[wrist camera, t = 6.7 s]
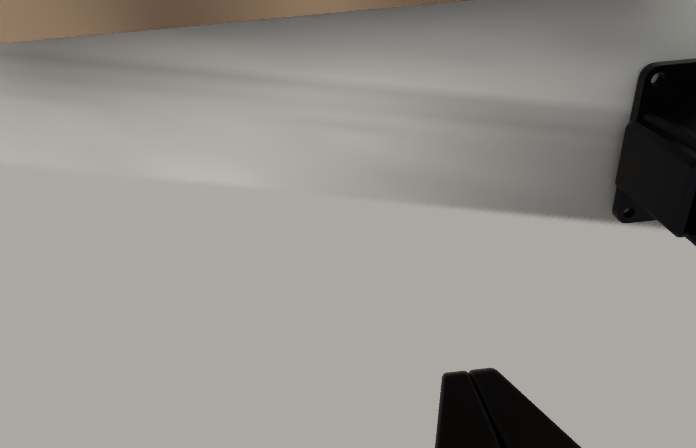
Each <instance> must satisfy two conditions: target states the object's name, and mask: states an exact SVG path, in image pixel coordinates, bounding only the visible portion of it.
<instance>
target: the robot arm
mask: <svg viewBox="0 0 696 448" xmlns="http://www.w3.org/2000/svg"><path fill="white" fill-rule="evenodd" d="M656 73H659V77H658V79H657V80H656V81H655V82H653V83H651V79H652V77H653V76H654V75H655V74H656ZM616 185H617V189H616V194H615V199H614V204H613V209H612V210H613V215H614V216H615V217H616V218H617V219H618V220H619V221H620V222H622V223H633V222H643V221H653V220H658V221H659V222H660V223H661V224H662V225H663V226H665V227H666V228H667V229H668V230H669V231H670V232H672V233H673V234H674V235H675V236H677V237H686V238H687V239H688V240H690V241H691V242H692V243H693V244H694V245H695V246H696V59H688V60H677V61H667V62H657V63H652V64H649V65H648V66H646V67H645V68H644V69H643V70H642V71H641V73H640V75H639V78H638V83H637V88H636V93H635V98H634V103H633V108H632V113H631V118H630V122H629V124H628V125H627V126H626V130H625V135H624V141H623V146H622V151H621V156H620V161H619V166H618V171H617V176H616ZM629 207H630V209H629V211H627V212H626V213H623V212H624V210H626V209H627V208H629ZM438 414H439V415H438V424H437V433H436V443H435V448H581V447H580V446H579V445H578V444H577V443H575V442H574V441H573V440H572V439H571V438H570V437H569V436H568V435H567V434H566V433H564V432H563V431H562V430H561V429H560V428H559V427H558V426H557V425H556V424H555V423H554V422H553V421H551V420H550V419H549V418H548V417H547V416H546V415H545V414H544V413H543V412H542V411H541V410H540V409H538V408H537V407H536V406H535V405H534V404H533V403H532V402H531V401H530V400H529V399H527V397H525V396H524V395H523V394H522V393H521V392H520V391H519V390H518V389H517V388H515V387H514V386H513V385H512V384H511V383H510V382H509V381H508V380H507V379H506V378H505V377H504V376H503V375H501V374H500V373H499V372H498V371H497V370H495V369H493V368H486V369H476V370H471V371H470V372H469V374H468V373H467V372H466V371H458V372H449V373H445V374H443V376H442V384H441V393H440V403H439V413H438Z"/></svg>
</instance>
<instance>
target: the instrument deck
mask: <svg viewBox="0 0 696 448" xmlns="http://www.w3.org/2000/svg"><path fill="white" fill-rule="evenodd" d="M456 1H467V0H0V44H1V43H12V42H23V41H34V40H45V39H55V38H66V37H77V36H88V35H99V34H110V33H120V32H131V31H142V30H153V29H164V28H174V27H185V26H196V25H207V24H218V23H229V22H239V21H250V20H261V19H272V18H283V17H293V16H304V15H315V14H326V13H337V12H348V11H358V10H369V9H380V8H391V7H402V6H413V5H423V4H434V3H445V2H456Z"/></svg>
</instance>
